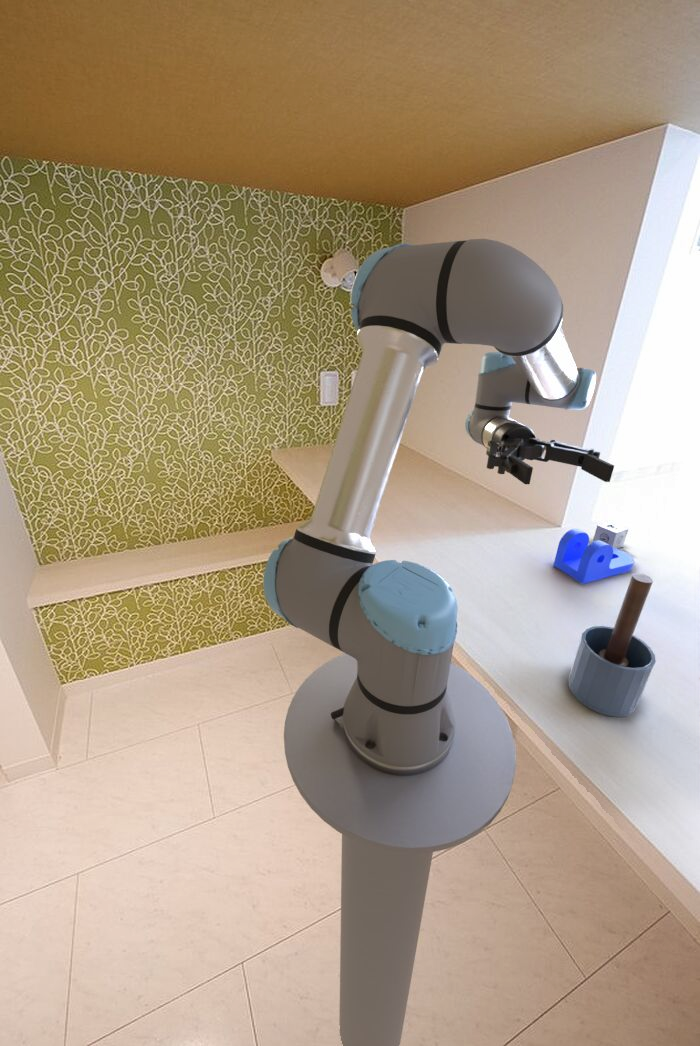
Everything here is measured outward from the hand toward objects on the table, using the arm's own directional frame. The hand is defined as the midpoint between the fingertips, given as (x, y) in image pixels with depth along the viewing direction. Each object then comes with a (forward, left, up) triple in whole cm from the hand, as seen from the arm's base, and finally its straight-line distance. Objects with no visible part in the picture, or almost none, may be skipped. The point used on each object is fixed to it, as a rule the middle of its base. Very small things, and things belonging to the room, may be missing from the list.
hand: (570, 475), depth 68 cm
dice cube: (+36, +29, -30) cm, 55 cm away
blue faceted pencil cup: (+3, -16, -30) cm, 34 cm away
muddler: (+3, -16, -29) cm, 33 cm away
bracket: (+26, +19, -30) cm, 44 cm away
